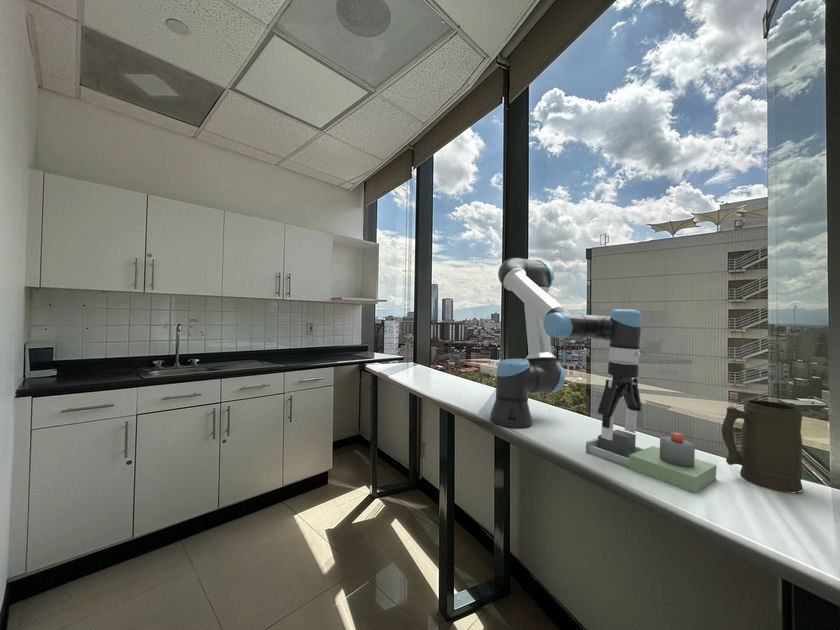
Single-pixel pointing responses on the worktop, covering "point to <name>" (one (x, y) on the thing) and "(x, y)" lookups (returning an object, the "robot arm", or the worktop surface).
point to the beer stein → (767, 444)
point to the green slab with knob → (665, 462)
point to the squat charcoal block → (619, 443)
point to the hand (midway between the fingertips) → (618, 435)
